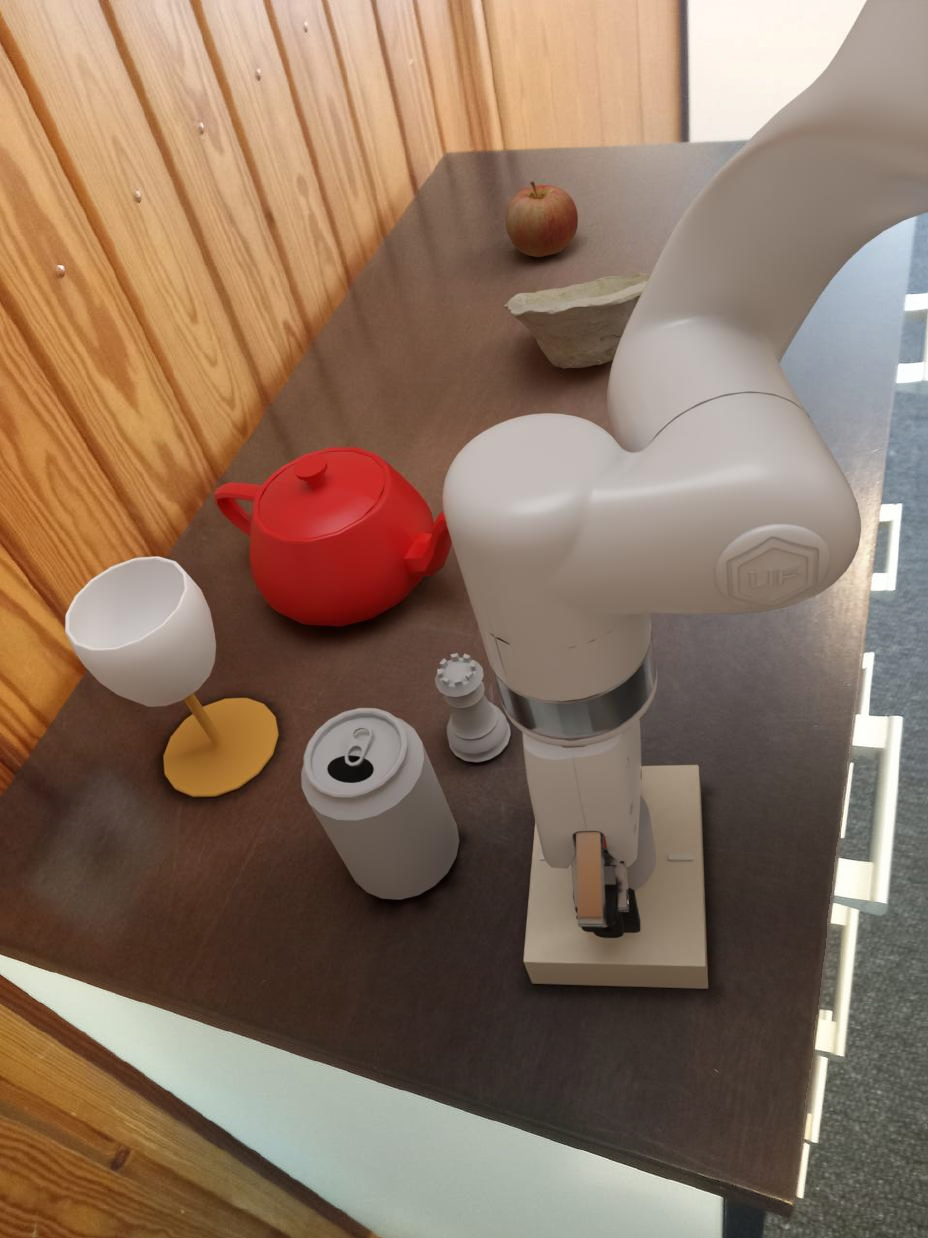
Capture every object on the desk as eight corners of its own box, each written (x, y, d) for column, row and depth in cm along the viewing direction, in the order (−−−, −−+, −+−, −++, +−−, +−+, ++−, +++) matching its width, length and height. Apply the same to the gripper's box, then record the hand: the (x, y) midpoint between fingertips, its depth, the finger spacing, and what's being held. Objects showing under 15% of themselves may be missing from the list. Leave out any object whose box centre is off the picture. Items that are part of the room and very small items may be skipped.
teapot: (197, 616, 88) (134, 510, 79) (291, 496, 96) (244, 389, 88) (454, 679, 77) (414, 564, 68) (534, 537, 86) (508, 419, 77)
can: (334, 893, 67) (269, 792, 58) (376, 796, 71) (322, 689, 63) (440, 917, 64) (388, 814, 56) (477, 814, 69) (435, 705, 60)
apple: (499, 251, 120) (486, 184, 114) (559, 225, 121) (549, 157, 115) (531, 277, 114) (518, 208, 108) (593, 249, 115) (584, 179, 110)
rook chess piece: (437, 742, 73) (409, 671, 68) (483, 703, 75) (460, 631, 69) (477, 777, 71) (451, 706, 65) (525, 737, 72) (503, 664, 66)
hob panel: (700, 790, 66) (698, 763, 64) (708, 989, 58) (705, 965, 55) (546, 793, 69) (538, 766, 66) (531, 984, 60) (522, 960, 58)
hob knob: (576, 822, 63) (565, 778, 60) (656, 822, 62) (649, 777, 58) (572, 894, 60) (560, 853, 56) (656, 895, 59) (649, 852, 55)
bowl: (665, 306, 105) (657, 212, 97) (670, 388, 95) (662, 291, 88) (520, 326, 108) (502, 236, 101) (511, 407, 99) (491, 315, 91)
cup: (141, 762, 78) (32, 621, 67) (228, 681, 82) (140, 535, 70) (213, 819, 73) (109, 677, 62) (303, 730, 77) (221, 581, 65)
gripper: (511, 539, 55) (559, 730, 67) (474, 826, 43) (540, 993, 55) (654, 528, 53) (676, 727, 65) (655, 824, 41) (682, 997, 54)
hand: (613, 849), depth 60 cm, fingers open, 9 cm apart
